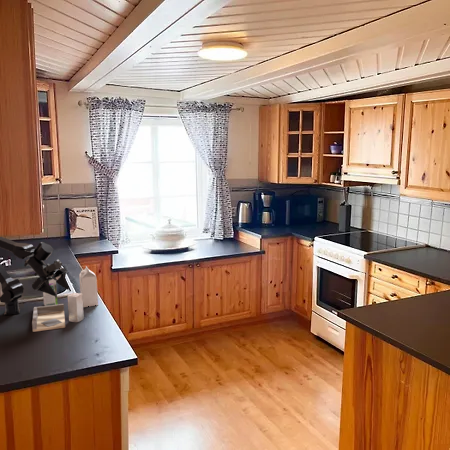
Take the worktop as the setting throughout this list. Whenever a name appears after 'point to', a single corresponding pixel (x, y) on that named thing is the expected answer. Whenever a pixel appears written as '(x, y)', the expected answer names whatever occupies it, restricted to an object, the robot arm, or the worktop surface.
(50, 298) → the syrup box
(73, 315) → the aluminium post
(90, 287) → the milk carton
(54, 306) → the corner arena
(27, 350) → the worktop surface
